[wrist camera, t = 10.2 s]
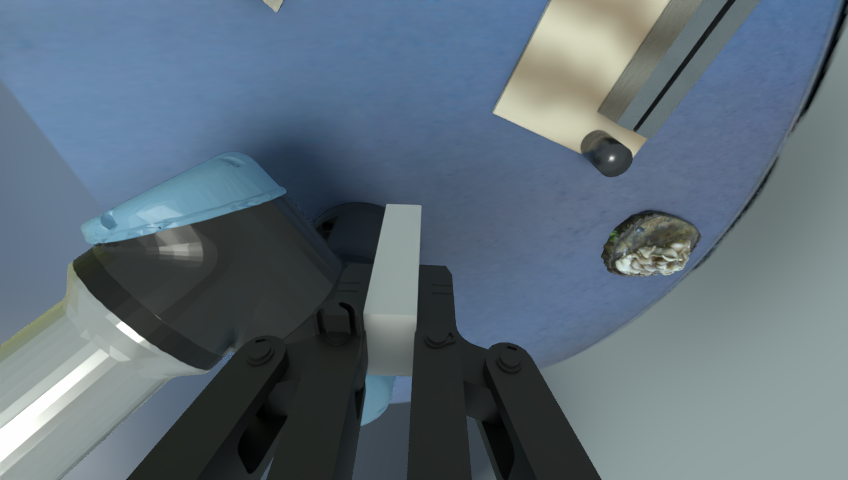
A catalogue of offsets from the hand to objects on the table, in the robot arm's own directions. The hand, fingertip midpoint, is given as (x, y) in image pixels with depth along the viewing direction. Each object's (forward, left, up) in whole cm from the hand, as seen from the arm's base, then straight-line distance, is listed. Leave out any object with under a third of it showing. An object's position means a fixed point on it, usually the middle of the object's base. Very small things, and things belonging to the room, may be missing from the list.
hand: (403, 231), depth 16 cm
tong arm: (+12, -21, -25) cm, 35 cm away
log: (-11, -34, -27) cm, 44 cm away
